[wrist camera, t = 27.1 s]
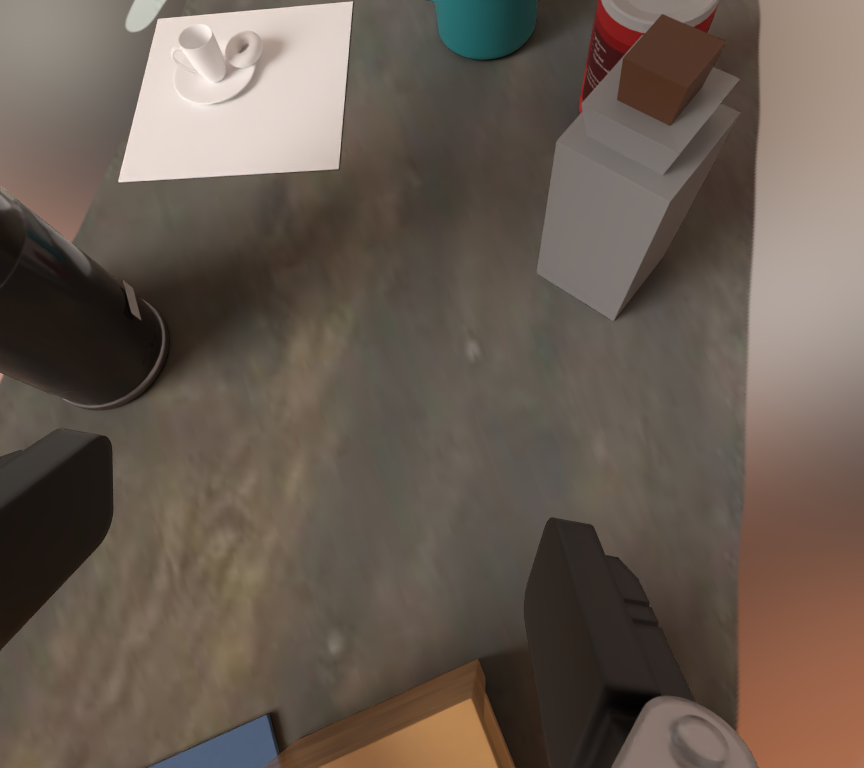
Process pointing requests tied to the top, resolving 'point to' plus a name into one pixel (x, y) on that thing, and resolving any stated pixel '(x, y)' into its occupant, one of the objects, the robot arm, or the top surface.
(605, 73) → the canned food
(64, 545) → the robot arm
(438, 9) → the cup
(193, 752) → the mat
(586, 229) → the perfume bottle
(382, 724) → the wooden shelf box
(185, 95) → the teacup and saucer
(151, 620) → the top surface
